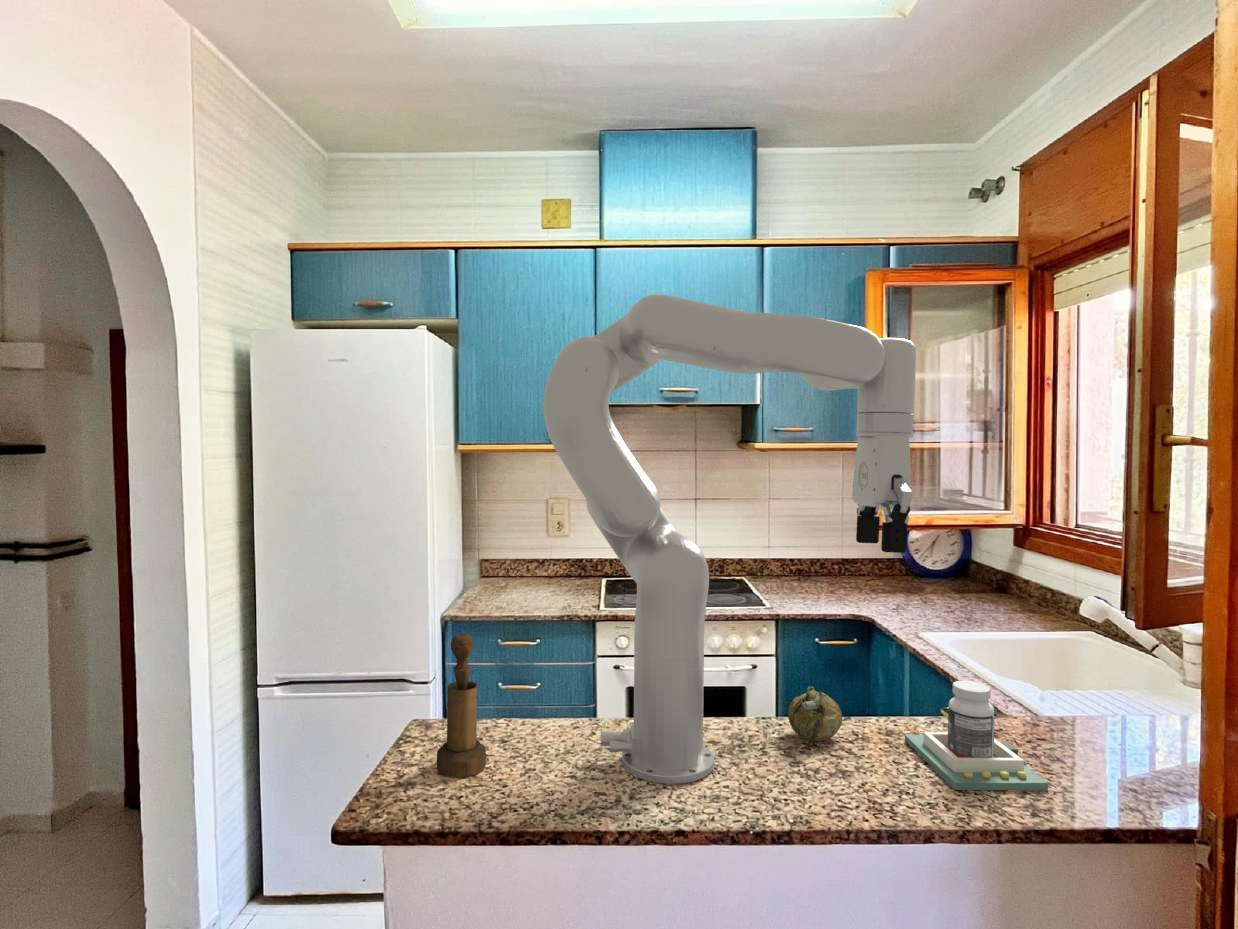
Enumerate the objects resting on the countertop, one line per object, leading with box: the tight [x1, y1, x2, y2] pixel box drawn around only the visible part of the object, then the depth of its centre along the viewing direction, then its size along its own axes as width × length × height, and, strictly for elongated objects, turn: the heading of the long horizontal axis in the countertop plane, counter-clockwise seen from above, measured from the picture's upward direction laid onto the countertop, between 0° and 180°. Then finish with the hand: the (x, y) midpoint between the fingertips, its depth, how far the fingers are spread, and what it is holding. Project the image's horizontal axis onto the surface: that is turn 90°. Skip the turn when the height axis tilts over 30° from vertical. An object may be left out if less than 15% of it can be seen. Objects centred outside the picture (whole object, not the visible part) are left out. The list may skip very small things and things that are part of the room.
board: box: [904, 731, 1049, 792], centre depth 97 cm, size 12×15×3 cm
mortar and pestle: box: [436, 633, 487, 778], centre depth 94 cm, size 7×6×18 cm
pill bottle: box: [947, 680, 996, 758], centre depth 97 cm, size 6×6×10 cm
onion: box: [787, 686, 843, 742], centre depth 105 cm, size 8×8×8 cm
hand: (879, 547), depth 100 cm, fingers open, 9 cm apart
